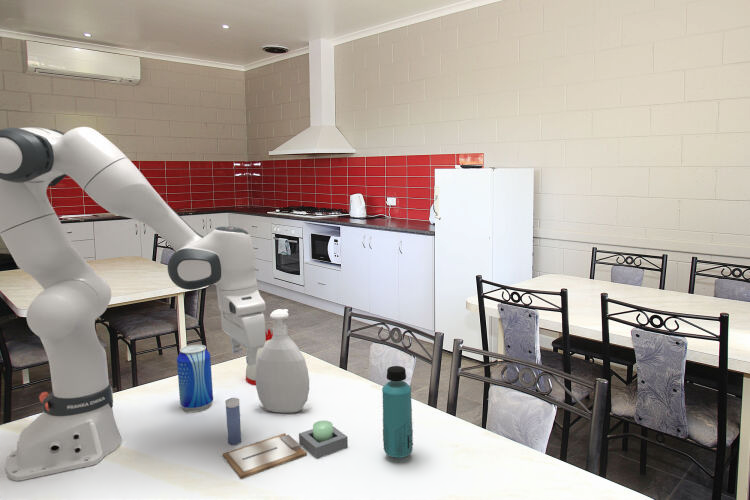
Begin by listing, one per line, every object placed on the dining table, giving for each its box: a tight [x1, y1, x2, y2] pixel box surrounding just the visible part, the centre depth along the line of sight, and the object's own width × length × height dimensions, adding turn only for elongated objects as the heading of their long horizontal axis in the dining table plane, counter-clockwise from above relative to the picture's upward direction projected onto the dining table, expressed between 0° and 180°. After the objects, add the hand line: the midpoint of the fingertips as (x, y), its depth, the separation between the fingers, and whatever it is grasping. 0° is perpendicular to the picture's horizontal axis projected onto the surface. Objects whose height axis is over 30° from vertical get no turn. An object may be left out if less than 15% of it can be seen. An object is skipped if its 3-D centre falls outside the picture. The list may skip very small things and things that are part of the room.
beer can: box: [176, 344, 214, 413], centre depth 141 cm, size 8×8×16 cm
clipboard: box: [221, 433, 308, 479], centre depth 116 cm, size 15×11×1 cm
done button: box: [312, 420, 334, 443], centre depth 119 cm, size 4×4×4 cm
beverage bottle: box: [381, 365, 414, 458], centre depth 113 cm, size 6×7×20 cm
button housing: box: [298, 426, 349, 459], centre depth 120 cm, size 8×8×2 cm
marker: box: [225, 397, 242, 446], centre depth 122 cm, size 3×3×10 cm
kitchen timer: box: [245, 328, 273, 387], centre depth 160 cm, size 14×14×15 cm
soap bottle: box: [255, 308, 310, 414], centre depth 137 cm, size 14×8×27 cm, turn 79°
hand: (244, 358), depth 120 cm, fingers open, 8 cm apart
